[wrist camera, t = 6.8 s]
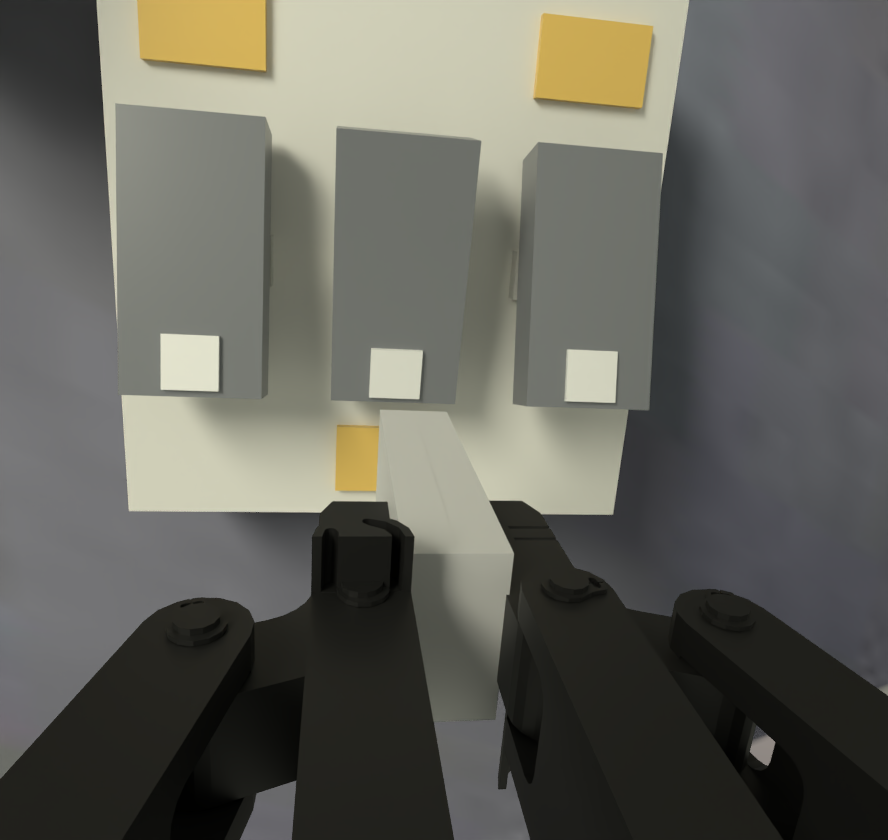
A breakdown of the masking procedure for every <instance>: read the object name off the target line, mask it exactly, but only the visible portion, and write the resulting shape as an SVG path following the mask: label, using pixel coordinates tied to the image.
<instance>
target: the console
mask: <svg viewBox="0 0 888 840" xmlns="http://www.w3.org/2000/svg"><path fill="white" fill-rule="evenodd" d="M688 5H689V0H97V16H98V31H99V47H100V63H101V79H102V94H103V110H104V126H105V141H106V157H107V173H108V189H109V204H110V220H111V236H112V252H113V267H114V283H115V299H116V315H117V224H116V116H115V103H117V104H128V105H140V106H151V107H162V108H173V109H184V110H195V111H207V112H218V113H229V114H240V115H251V116H262V117H266V119H267V122H268V125H269V128H270V131H271V134H272V167H271V231H270V294H269V358H268V395H266V396H265V397H264V398H262V399H236V398H204V397H171V396H139V395H122V409H123V425H124V441H125V456H126V472H127V488H128V503H129V511H199V512H322V511H323V510H324V509H325V508H326V507H327V506H328V505H329V504H330V503H331V502H332V501H374V502H376V486H377V464H378V441H379V419H380V410H405V411H440V412H447V413H448V416H449V418H450V420H451V422H452V424H453V426H454V428H455V430H456V432H457V434H458V437H459V439H460V441H461V443H462V445H463V447H464V449H465V451H466V453H467V455H468V458H469V460H470V462H471V464H472V466H473V468H474V470H475V472H476V474H477V477H478V479H479V481H480V483H481V485H482V487H483V489H484V491H485V493H486V495H487V498H488V500H490V501H523V502H525V503H526V504H528V505H529V506H531V507H532V508H534V509H535V510H537V511H538V512H540V513H541V514H578V515H613V511H614V504H615V498H616V491H617V484H618V477H619V471H620V464H621V457H622V450H623V444H624V437H625V430H626V423H627V417H628V410H626V409H594V408H562V407H530V406H521V405H515V404H513V381H514V358H515V334H516V311H517V287H518V263H519V240H520V216H521V192H522V169H523V160H524V158H525V157H526V156H527V155H528V154H529V152H530V151H531V150H532V149H533V148H534V146H535V145H536V144H537V143H538V142H544V143H555V144H567V145H578V146H589V147H600V148H611V149H622V150H634V151H645V152H656V153H663V161H662V180H663V174H664V167H665V160H666V153H667V146H668V140H669V133H670V126H671V119H672V113H673V106H674V99H675V92H676V86H677V79H678V72H679V65H680V59H681V52H682V45H683V38H684V32H685V25H686V18H687V11H688ZM337 126H345V127H356V128H368V129H379V130H390V131H401V132H413V133H424V134H435V135H446V136H457V137H469V138H474V139H477V140H481V151H480V161H479V171H478V181H477V191H476V201H475V211H474V220H473V230H472V240H471V250H470V260H469V270H468V280H467V290H466V300H465V310H464V320H463V330H462V340H461V350H460V360H459V370H458V380H457V390H456V399H455V404H430V403H398V402H366V401H334V400H331V363H332V315H333V268H334V220H335V173H336V128H337ZM662 180H661V187H662Z"/></svg>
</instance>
